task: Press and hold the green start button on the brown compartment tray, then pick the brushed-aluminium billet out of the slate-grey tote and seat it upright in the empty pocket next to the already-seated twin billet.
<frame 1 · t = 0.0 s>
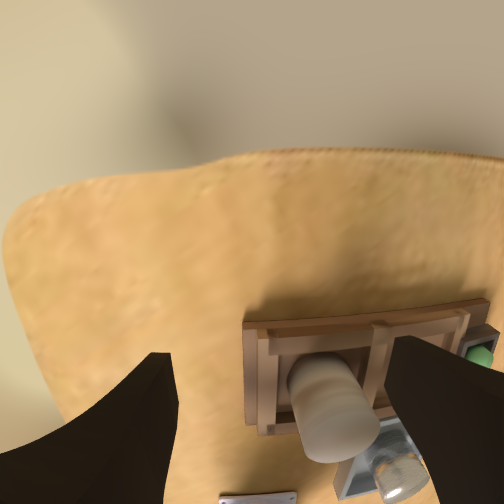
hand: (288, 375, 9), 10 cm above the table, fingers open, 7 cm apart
brown compartment tray: (377, 361, 22), on the table
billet: (384, 445, 24), resting on tote
start button: (475, 361, 19), point 3 cm above the table, slide at 0.0 cm
tote: (382, 442, 25), on the table
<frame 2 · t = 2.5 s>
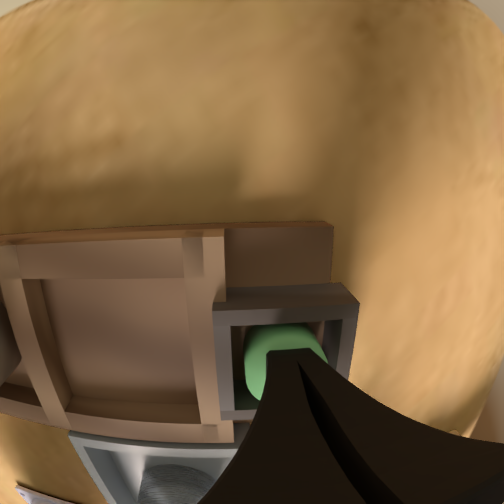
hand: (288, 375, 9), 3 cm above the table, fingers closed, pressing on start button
brown compartment tray: (79, 328, 12), on the table
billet: (179, 484, 14), resting on tote
start button: (283, 360, 10), point 2 cm above the table, slide at 0.6 cm, touching gripper
tote: (179, 479, 15), on the table
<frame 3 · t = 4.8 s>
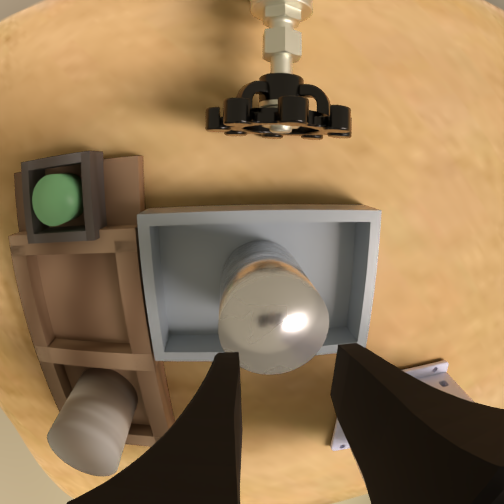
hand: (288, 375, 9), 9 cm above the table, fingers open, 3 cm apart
brown compartment tray: (96, 323, 18), on the table
valve: (272, 41, 15), on the table
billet: (260, 278, 18), resting on tote
start button: (59, 198, 14), point 2 cm above the table, slide at 0.6 cm
tote: (259, 276, 18), on the table
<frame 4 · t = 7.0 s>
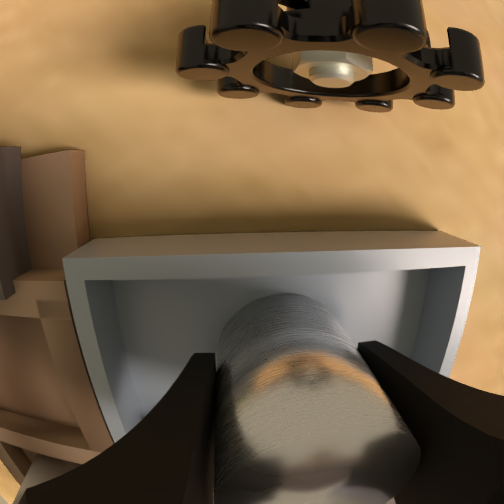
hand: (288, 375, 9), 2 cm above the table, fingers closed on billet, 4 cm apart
brown compartment tray: (45, 394, 11), on the table
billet: (281, 351, 11), resting on tote, touching gripper
tote: (279, 345, 11), on the table
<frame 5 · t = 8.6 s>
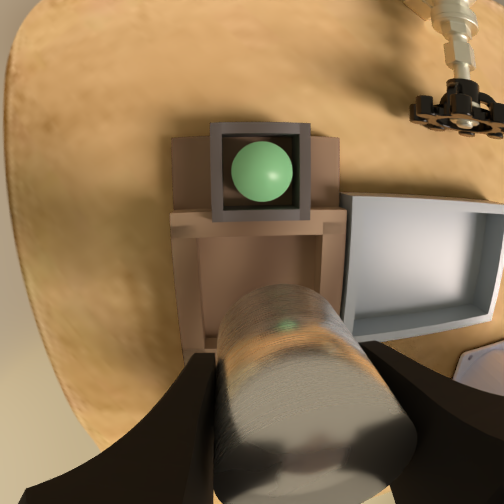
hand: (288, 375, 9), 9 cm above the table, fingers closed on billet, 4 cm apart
brown compartment tray: (257, 315, 18), on the table
valve: (425, 46, 15), on the table
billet: (279, 341, 11), point 7 cm above the table, touching gripper
start button: (260, 171, 14), point 2 cm above the table, slide at 0.6 cm
tote: (420, 259, 18), on the table
when the fingers open (4 cm above the table, at t = 10.4 s): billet drops 1 cm, resting on brown compartment tray.
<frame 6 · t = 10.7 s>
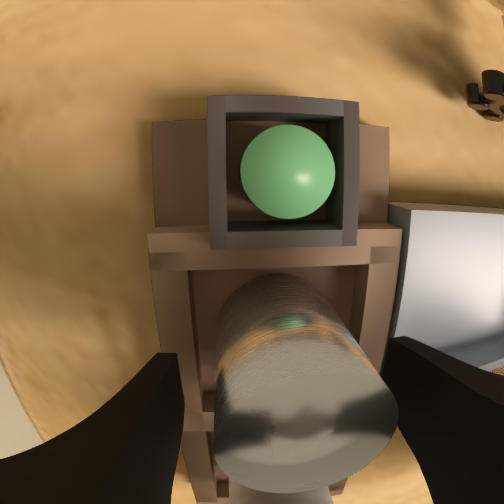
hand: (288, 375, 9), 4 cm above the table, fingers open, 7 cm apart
brown compartment tray: (271, 363, 14), on the table
valve: (473, 20, 10), on the table
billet: (275, 328, 12), point 1 cm above the table, touching brown compartment tray
start button: (283, 171, 9), point 2 cm above the table, slide at 0.6 cm
tote: (471, 286, 14), on the table
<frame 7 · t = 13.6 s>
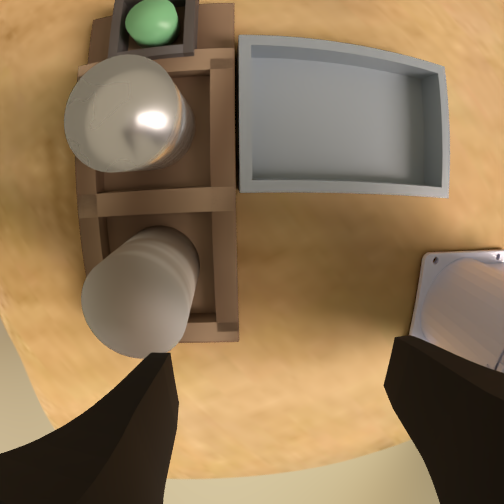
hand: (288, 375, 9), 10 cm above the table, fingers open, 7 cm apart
brown compartment tray: (159, 173, 17), on the table
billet: (154, 129, 15), point 1 cm above the table, touching brown compartment tray
start button: (153, 24, 13), point 2 cm above the table, slide at 0.6 cm
tote: (343, 120, 17), on the table
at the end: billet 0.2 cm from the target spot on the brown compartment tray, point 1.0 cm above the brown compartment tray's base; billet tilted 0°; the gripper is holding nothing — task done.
